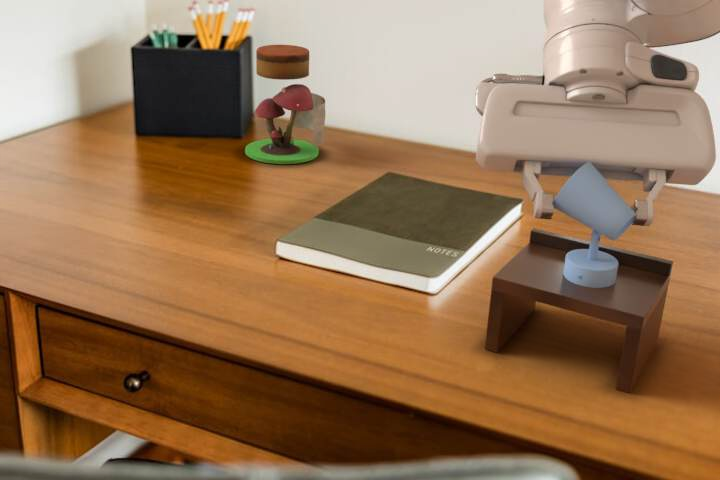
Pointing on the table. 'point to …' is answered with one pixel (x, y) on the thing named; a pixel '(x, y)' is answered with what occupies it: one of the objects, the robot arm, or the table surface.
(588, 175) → the spotlight
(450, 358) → the table surface
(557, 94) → the robot arm
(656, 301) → the shelf
